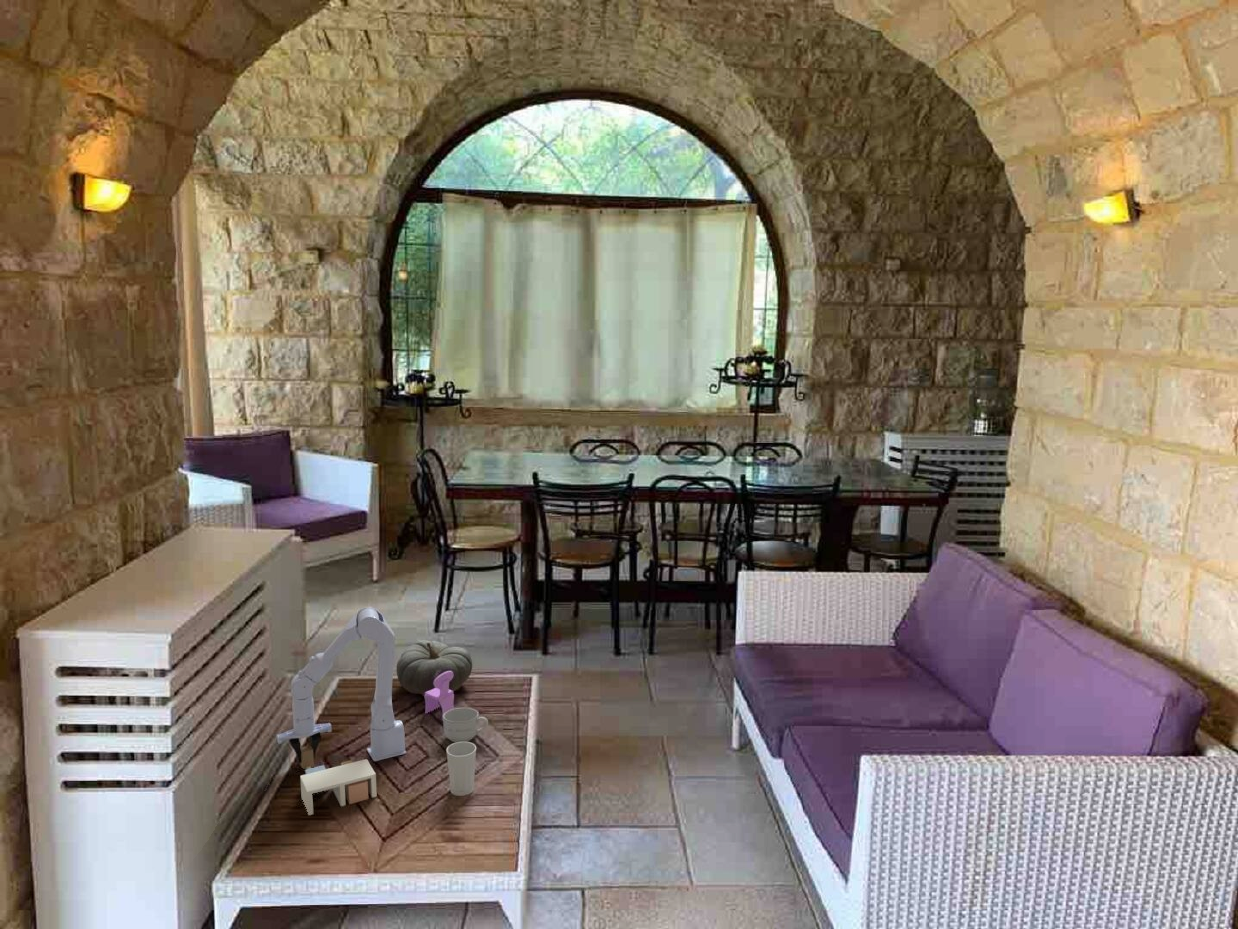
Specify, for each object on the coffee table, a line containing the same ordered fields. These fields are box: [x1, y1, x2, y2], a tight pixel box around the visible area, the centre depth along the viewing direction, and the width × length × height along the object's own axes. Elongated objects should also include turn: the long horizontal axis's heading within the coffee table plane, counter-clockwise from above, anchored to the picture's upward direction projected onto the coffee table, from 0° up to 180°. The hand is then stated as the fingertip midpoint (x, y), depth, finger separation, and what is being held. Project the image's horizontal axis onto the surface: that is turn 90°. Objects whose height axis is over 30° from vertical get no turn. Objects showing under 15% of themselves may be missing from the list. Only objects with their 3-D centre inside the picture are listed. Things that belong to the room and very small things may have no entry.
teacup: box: [442, 707, 489, 743], centre depth 262 cm, size 14×11×8 cm
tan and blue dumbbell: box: [300, 745, 330, 794], centre depth 239 cm, size 5×17×6 cm, turn 31°
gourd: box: [396, 639, 473, 697], centre depth 296 cm, size 25×25×17 cm
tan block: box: [340, 759, 369, 805], centre depth 234 cm, size 5×12×6 cm, turn 31°
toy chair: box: [423, 671, 455, 721], centre depth 278 cm, size 8×9×15 cm
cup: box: [445, 741, 477, 797], centre depth 234 cm, size 8×8×12 cm
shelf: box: [299, 758, 378, 816], centre depth 230 cm, size 18×9×7 cm, turn 121°
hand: (306, 759), depth 247 cm, fingers closed on tan and blue dumbbell, 3 cm apart
